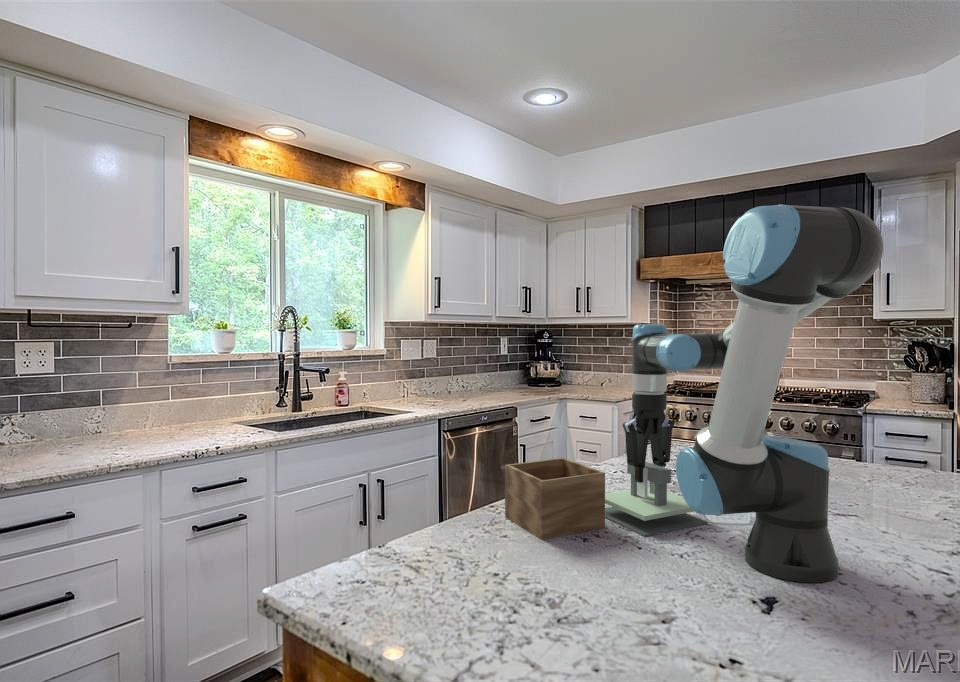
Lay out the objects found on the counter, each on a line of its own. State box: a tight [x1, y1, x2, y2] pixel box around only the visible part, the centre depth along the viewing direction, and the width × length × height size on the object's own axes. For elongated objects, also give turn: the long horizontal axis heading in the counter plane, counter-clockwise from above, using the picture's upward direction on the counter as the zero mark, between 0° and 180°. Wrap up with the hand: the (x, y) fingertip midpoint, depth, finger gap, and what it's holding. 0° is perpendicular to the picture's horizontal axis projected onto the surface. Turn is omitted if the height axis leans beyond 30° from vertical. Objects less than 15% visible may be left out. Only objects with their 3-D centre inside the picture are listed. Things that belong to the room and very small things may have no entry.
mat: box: [605, 506, 709, 538], centre depth 135 cm, size 18×18×1 cm
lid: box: [605, 461, 695, 521], centre depth 135 cm, size 17×17×9 cm
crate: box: [504, 457, 606, 540], centre depth 132 cm, size 16×16×12 cm
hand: (648, 494), depth 135 cm, fingers closed on lid, 3 cm apart
